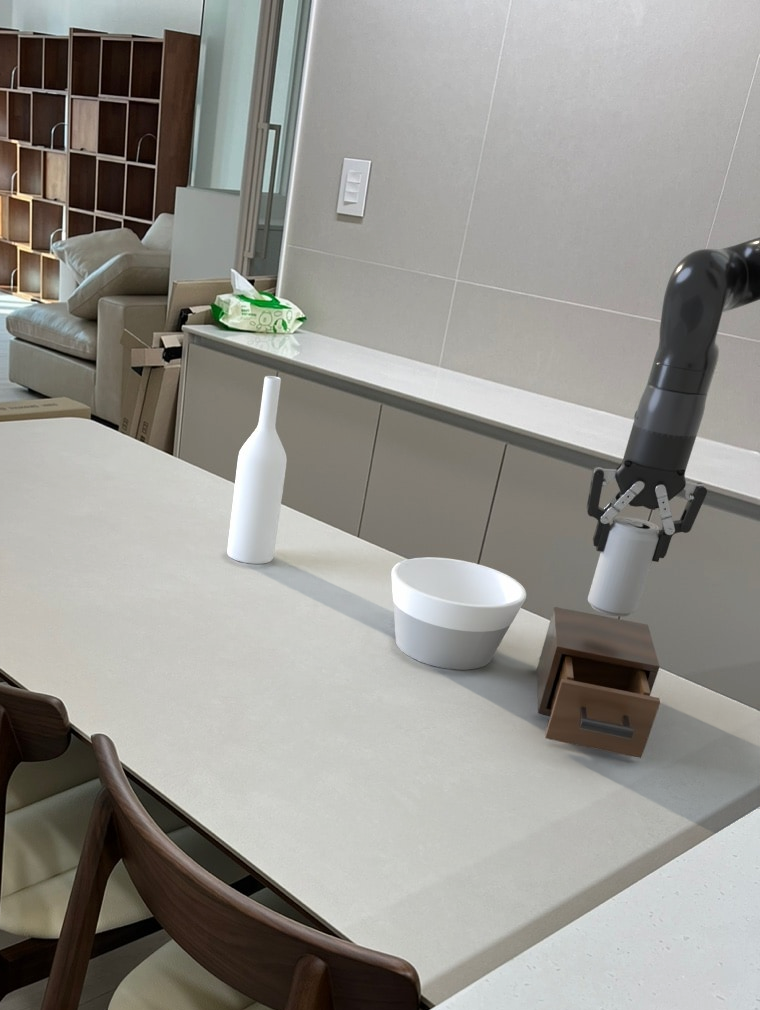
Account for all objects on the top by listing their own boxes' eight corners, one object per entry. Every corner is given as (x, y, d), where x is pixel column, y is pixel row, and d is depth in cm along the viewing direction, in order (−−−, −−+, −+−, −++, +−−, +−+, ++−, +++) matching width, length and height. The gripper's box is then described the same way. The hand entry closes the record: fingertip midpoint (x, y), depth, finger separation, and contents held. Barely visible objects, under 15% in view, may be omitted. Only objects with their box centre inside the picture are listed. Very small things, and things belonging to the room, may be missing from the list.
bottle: (247, 567, 178) (270, 384, 164) (217, 551, 183) (237, 372, 169) (282, 560, 183) (308, 382, 168) (252, 545, 188) (274, 371, 174)
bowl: (474, 691, 144) (492, 619, 139) (354, 645, 154) (367, 575, 149) (529, 652, 158) (547, 585, 153) (416, 612, 168) (429, 547, 163)
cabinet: (637, 733, 138) (660, 666, 134) (537, 713, 140) (556, 646, 136) (627, 687, 151) (648, 624, 146) (536, 669, 153) (554, 606, 149)
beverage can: (620, 622, 137) (647, 533, 132) (576, 605, 141) (601, 518, 136) (644, 613, 141) (671, 526, 136) (601, 596, 145) (625, 512, 140)
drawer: (644, 777, 126) (665, 719, 122) (546, 756, 128) (562, 698, 124) (631, 711, 142) (649, 657, 138) (543, 693, 144) (558, 640, 140)
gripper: (607, 422, 128) (571, 553, 136) (732, 441, 125) (688, 574, 133) (603, 410, 134) (569, 536, 142) (722, 429, 132) (680, 556, 140)
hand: (626, 554), depth 138 cm, fingers closed on beverage can, 6 cm apart
